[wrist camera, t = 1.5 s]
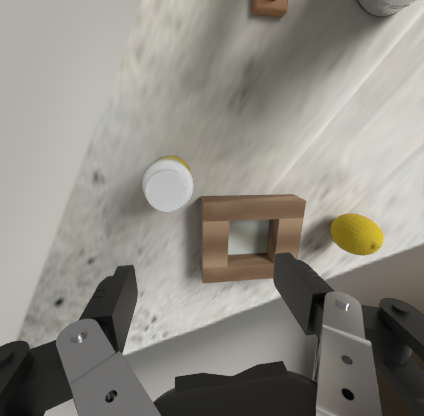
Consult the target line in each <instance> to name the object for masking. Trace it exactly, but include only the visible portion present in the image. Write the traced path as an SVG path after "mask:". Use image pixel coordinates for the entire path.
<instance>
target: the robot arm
mask: <svg viewBox="0 0 424 416" xmlns="http://www.w3.org/2000/svg"><path fill="white" fill-rule="evenodd" d="M358 1H359V3H360V4H361V6H362V7H363V8H364V9H365V10H366V11H367V12H369V13H371V14H372V15H376V16H388V15H391V14H394V13H396V12H397V11H399V10H401V9H402V8H404V7H406V6H409V5H410V4H412V3H413V2H415V1H416V0H358ZM273 280H274V284H275V287H276V288H277V290H278V292H279V293H280V295H281V296H282V298H283V299H284V301H285V303H286V304H287V306H288V307H289V309H290V310H291V312H292V314H293V315H294V317H295V318H296V320H297V322H298V323H299V325H300V326H301V328H302V329H303V331H304V333H305V334H306V335H312V334H316V335H317V337H318V340H317V346H316V355H315V364H314V372H313V380H312V379H309V378H308V377H306V376H304V375H301V374H298V373H295V372H291V371H287V369H286V367H285V365H284V363H283V361H279V362H273V363H266V364H260V365H256V366H254V367H252V368H249V369H247V370H245V371H243V372H241V373H239V374H237V375H234V376H224V375H216V374H208V373H199V374H192V375H185V376H179V377H175V388H173V389H171V390H169V391H167V392H166V393H164V394H163V395H161V396H160V397H159V398H157V399H156V400H155V401H154V402H152V400H151V399H150V397H149V396H148V394H147V393H146V391H145V389H144V388H143V386H142V385H141V383H140V382H139V380H138V378H137V377H136V375H135V374H134V372H133V370H132V369H131V367H130V366H129V364H128V363H127V361H126V359H125V358H124V356H123V355H122V353H123V349H124V346H125V342H126V338H127V335H128V331H129V328H130V324H131V320H132V317H133V313H134V309H135V306H136V302H137V295H138V291H137V283H136V276H135V269H134V266H133V265H126V266H118V267H117V269H116V271H115V273H114V275H113V276H109V277H106V278H105V279H104V280H103V281H102V282H101V283H100V284H99V285H98V287H97V289H96V291H95V292H94V294H93V296H92V299H90V301H89V303H88V305H87V306H86V308H85V310H84V312H83V313H82V315H81V317H80V319H79V320H78V321H76V322H74V323H72V324H70V325H69V326H67V327H66V328H65V329H64V330H63V331H62V332H61V333H60V334H59V335H58V337H57V340H55V341H52V342H49V343H47V344H44V345H41V346H38V347H35V348H32V349H30V347H29V344H28V343H27V342H25V341H14V342H11V343H7V344H5V345H3V346H1V347H0V416H43V415H44V413H45V411H46V410H48V409H51V408H53V407H55V406H57V405H59V404H61V403H63V402H66V401H68V400H70V399H72V398H73V400H74V403H75V406H76V409H77V412H78V415H79V416H382V413H381V406H380V399H379V393H378V386H377V379H376V372H375V365H376V367H377V368H378V369H379V371H380V372H381V373H382V374H383V375H384V377H385V378H386V379H387V381H388V382H389V383H390V384H391V386H392V387H393V388H394V389H395V391H396V392H397V393H398V394H399V396H400V397H401V398H402V399H403V401H404V402H405V403H406V404H407V406H408V407H409V408H410V410H411V411H412V412H413V413H414V415H415V416H424V370H422V368H421V367H419V365H418V364H417V363H416V362H415V361H414V360H413V359H412V358H411V357H410V354H411V352H412V350H413V351H414V352H415V353H416V354H417V355H418V356H419V357H420V358H421V359H422V360H423V361H424V314H422V313H421V312H420V311H419V310H417V309H416V308H414V307H413V306H411V305H410V304H408V303H406V302H403V301H401V300H397V299H393V298H384V299H382V300H381V301H380V304H379V307H372V306H364V305H360V303H359V302H358V301H357V300H356V299H355V298H353V297H352V296H350V295H347V294H345V293H342V292H335V291H334V290H333V289H332V288H331V287H330V286H329V285H328V284H327V283H326V282H325V281H324V280H323V279H322V278H321V277H320V276H318V274H317V273H316V272H315V271H314V270H313V269H312V268H311V267H310V266H309V265H308V264H306V263H304V262H302V261H301V260H297V259H296V258H295V257H294V256H293V255H292V254H291V253H290V252H285V253H276V255H275V261H274V273H273ZM374 364H375V365H374Z"/></svg>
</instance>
